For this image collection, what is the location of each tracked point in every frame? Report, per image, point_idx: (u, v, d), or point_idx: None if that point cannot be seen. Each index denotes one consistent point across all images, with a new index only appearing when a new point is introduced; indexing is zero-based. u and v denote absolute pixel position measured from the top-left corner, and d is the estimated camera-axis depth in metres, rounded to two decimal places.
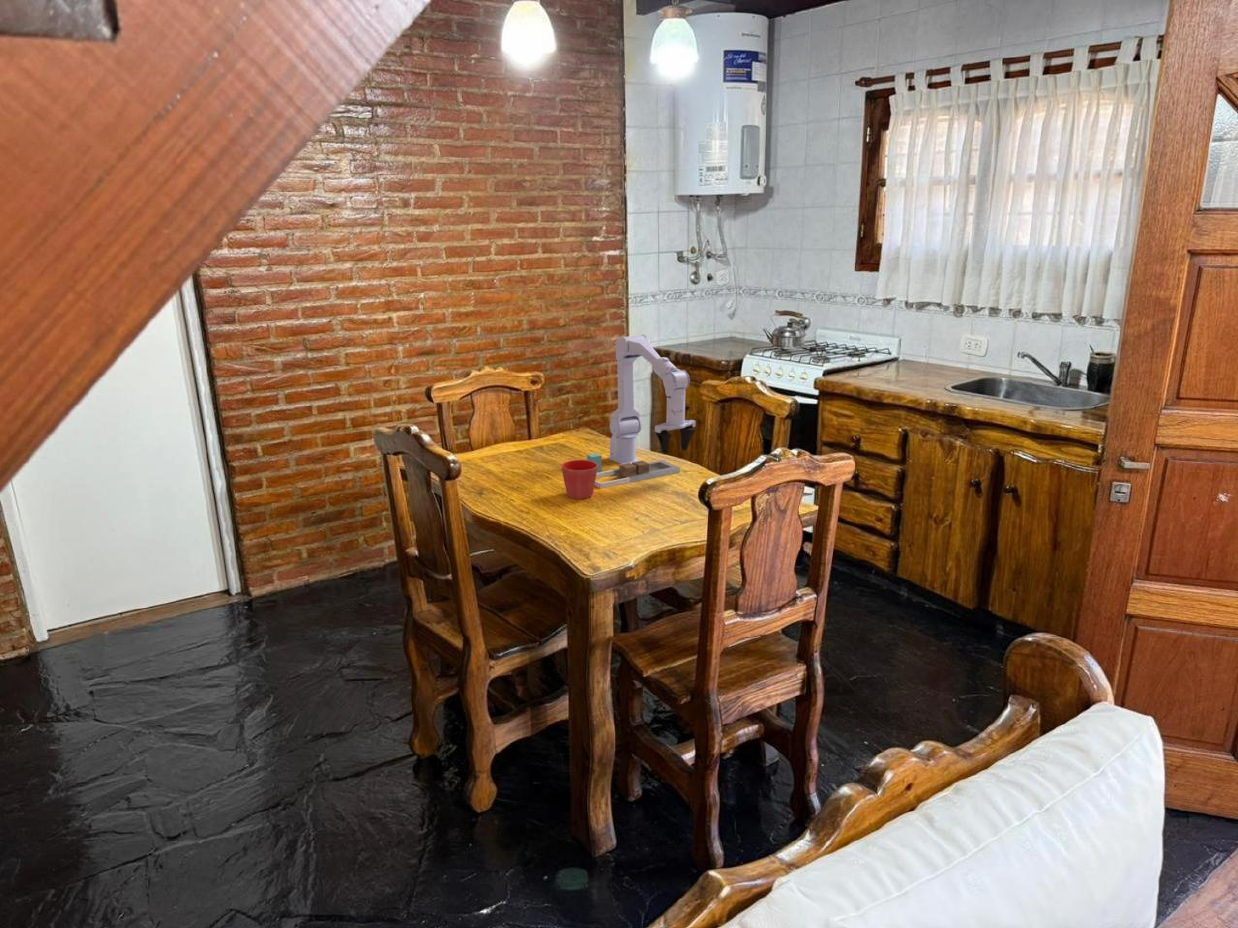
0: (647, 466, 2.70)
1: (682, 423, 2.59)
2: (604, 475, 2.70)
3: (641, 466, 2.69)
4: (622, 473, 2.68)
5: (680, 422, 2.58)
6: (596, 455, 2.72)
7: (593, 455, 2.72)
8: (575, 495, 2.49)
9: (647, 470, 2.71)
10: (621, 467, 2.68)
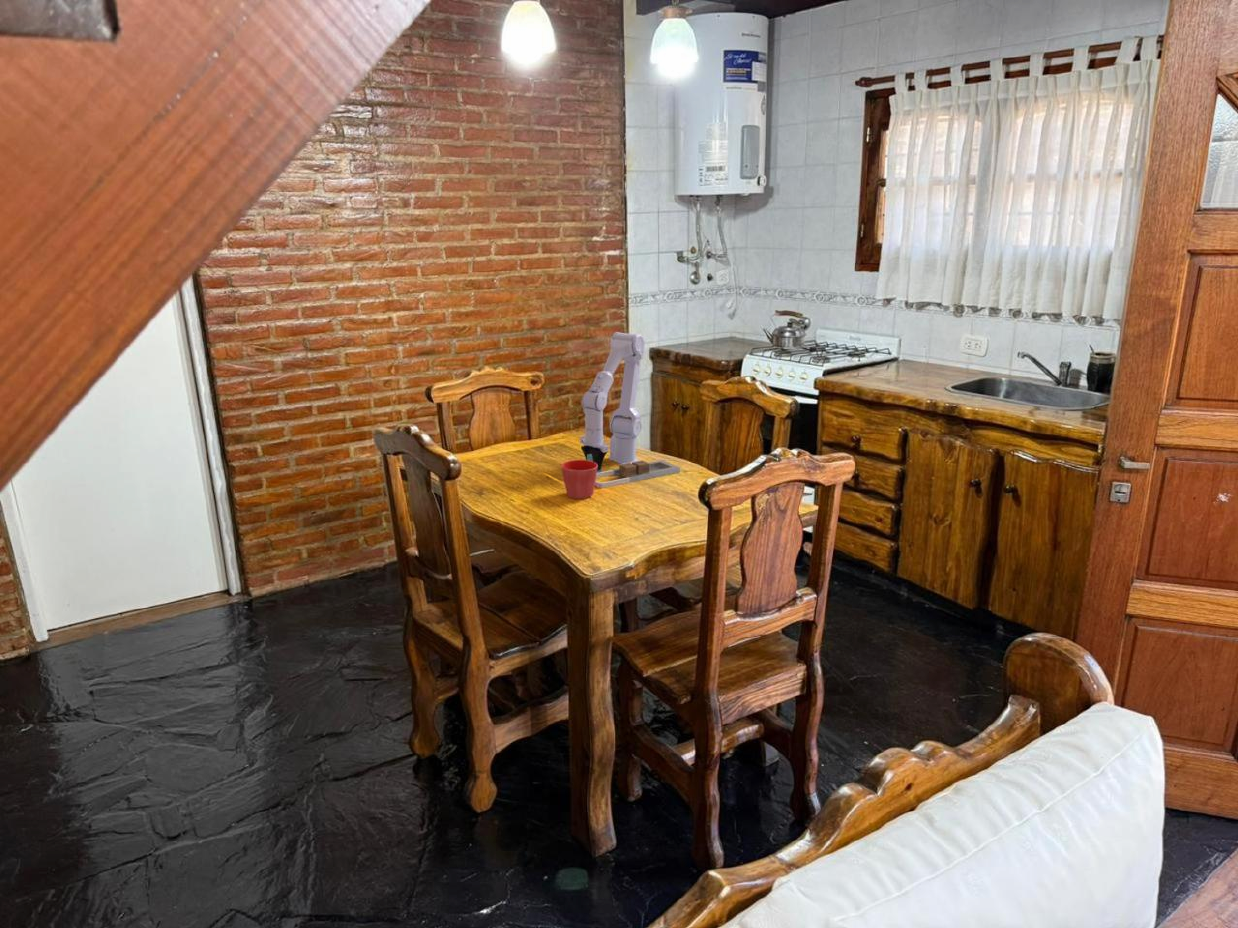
0: (647, 466, 2.70)
1: (588, 441, 2.69)
2: (604, 475, 2.70)
3: (641, 466, 2.69)
4: (622, 473, 2.68)
5: (586, 439, 2.69)
6: None
7: None
8: (575, 495, 2.49)
9: (647, 470, 2.71)
10: (621, 467, 2.68)
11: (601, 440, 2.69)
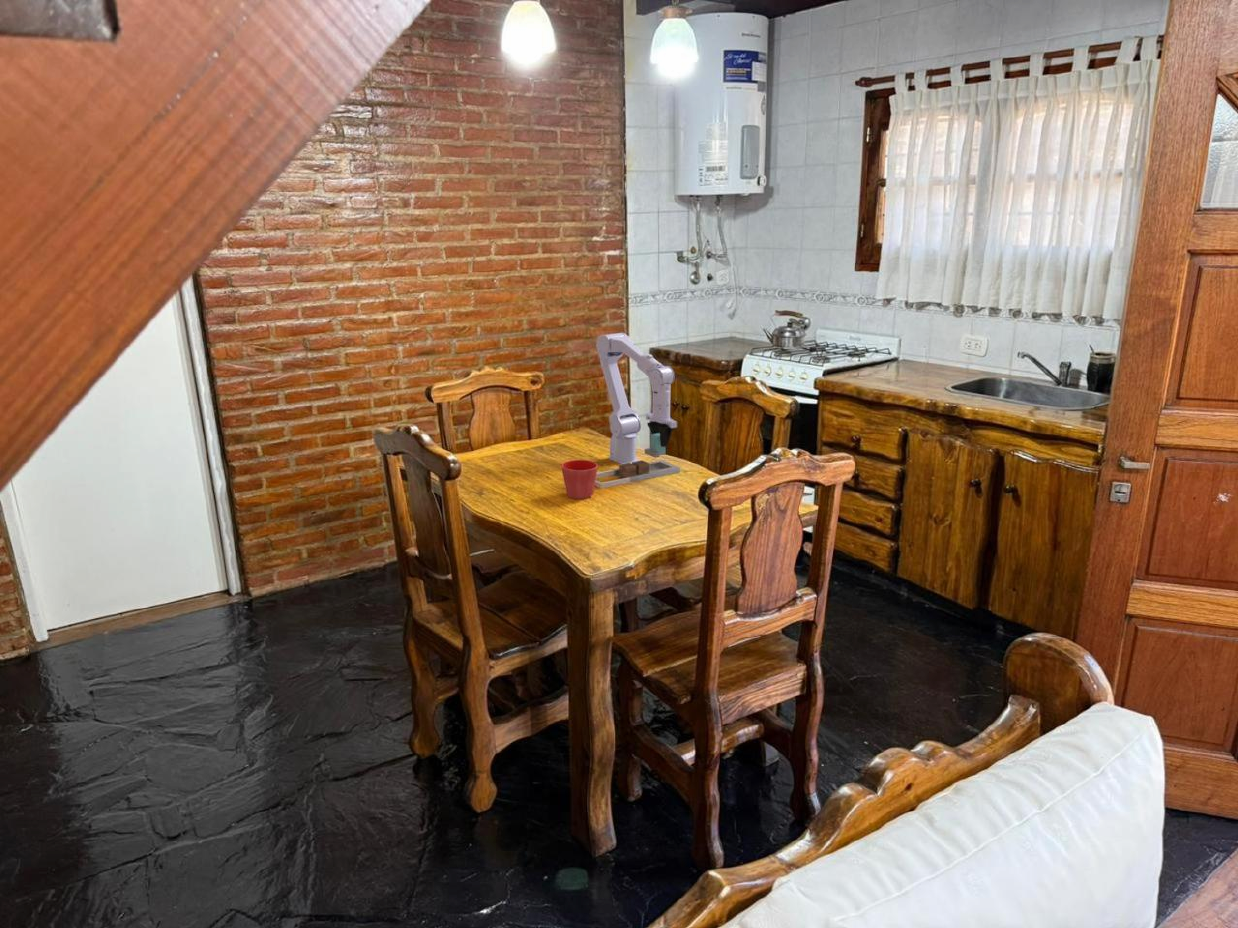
0: (647, 466, 2.70)
1: (655, 417, 2.69)
2: (604, 475, 2.70)
3: (641, 466, 2.69)
4: (622, 473, 2.68)
5: (653, 415, 2.69)
6: None
7: (658, 435, 2.71)
8: (575, 495, 2.49)
9: (647, 470, 2.71)
10: (621, 467, 2.68)
11: (668, 416, 2.69)
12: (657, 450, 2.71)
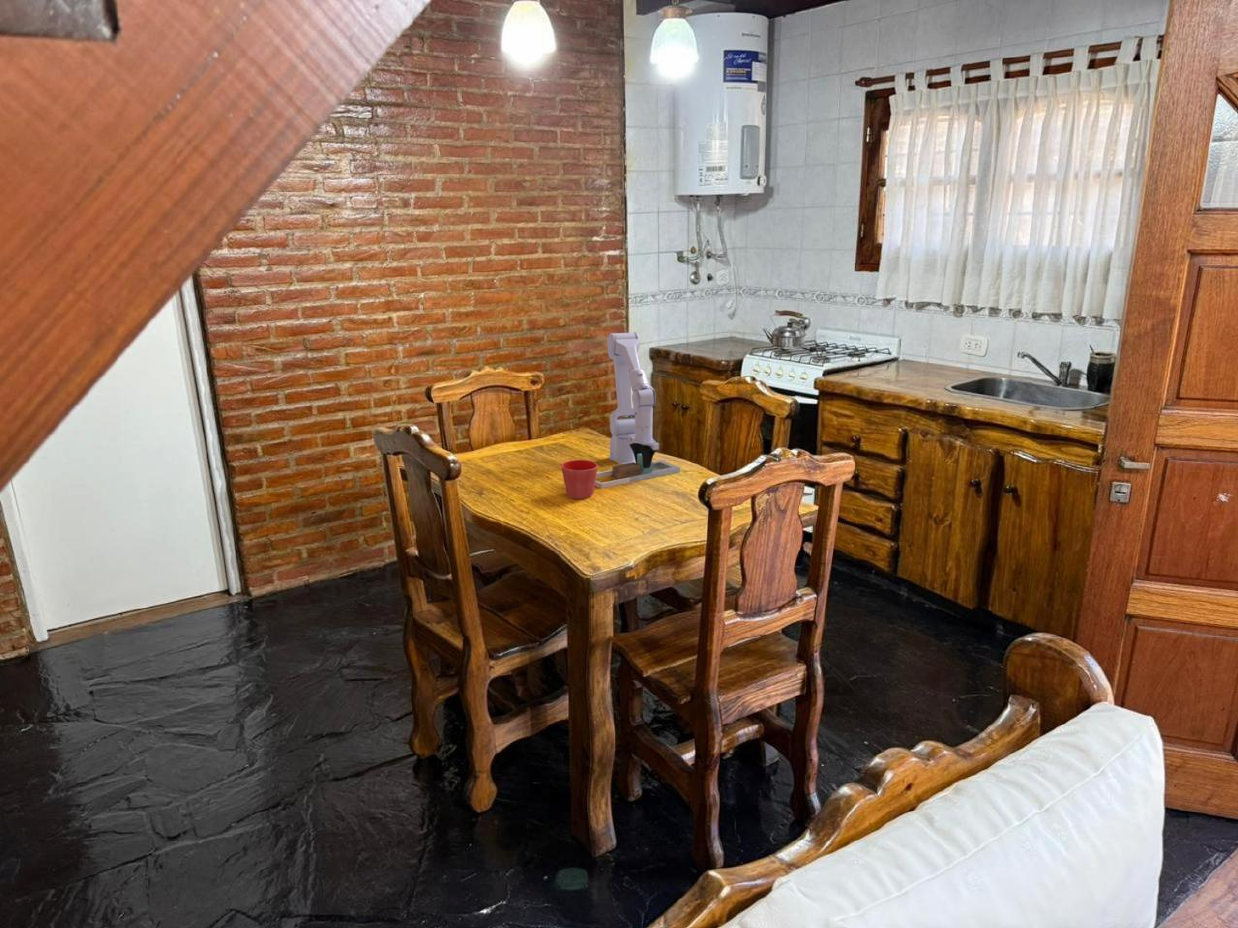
0: (638, 468, 2.68)
1: (637, 439, 2.67)
2: (604, 475, 2.70)
3: (632, 468, 2.67)
4: (615, 474, 2.66)
5: (636, 437, 2.68)
6: None
7: None
8: (575, 495, 2.49)
9: (638, 472, 2.69)
10: (614, 468, 2.66)
11: (651, 437, 2.68)
12: (643, 470, 2.70)
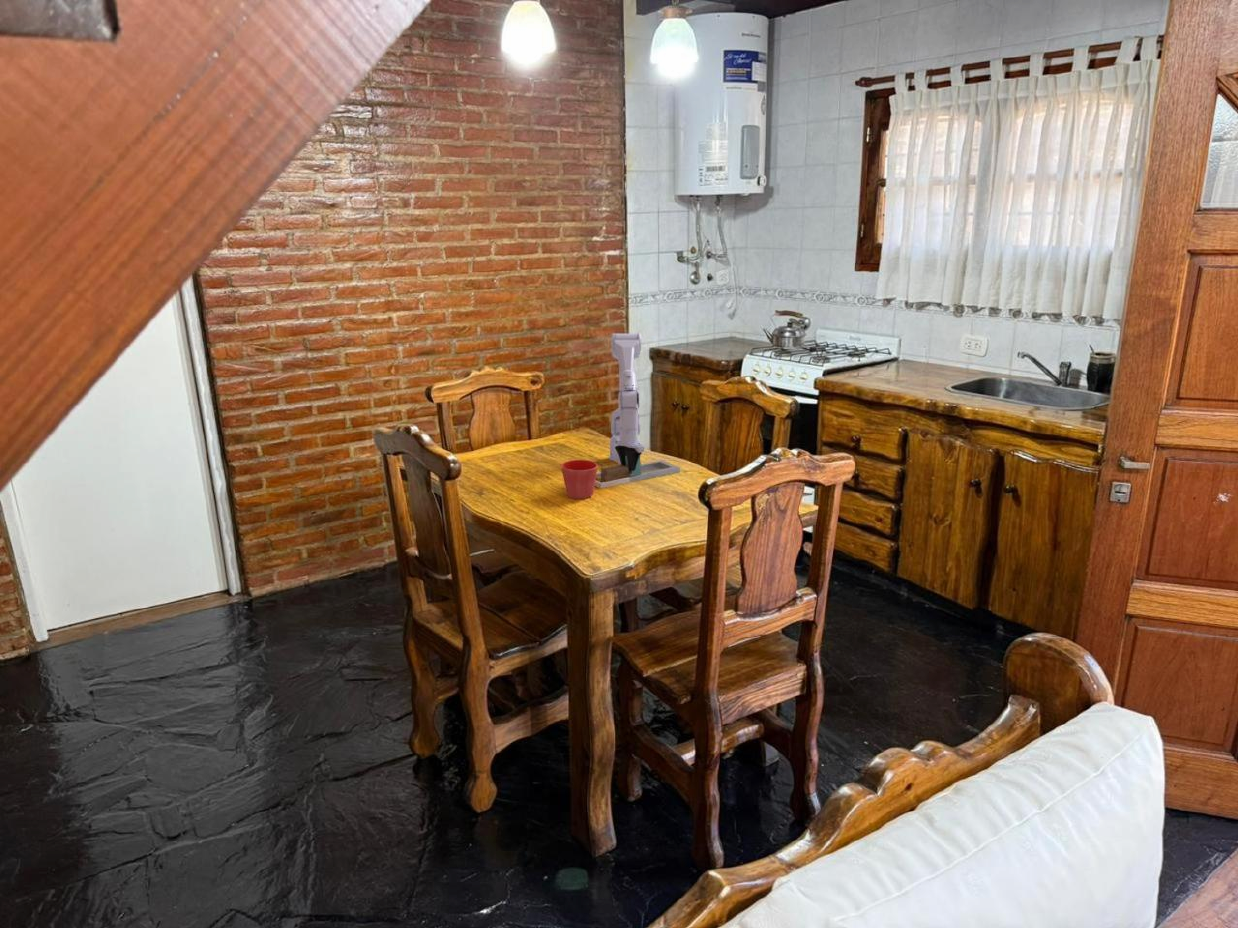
0: (627, 470, 2.66)
1: (622, 441, 2.64)
2: None
3: (620, 470, 2.65)
4: (604, 477, 2.64)
5: (621, 439, 2.65)
6: None
7: None
8: (575, 495, 2.49)
9: (627, 474, 2.66)
10: (603, 471, 2.64)
11: (636, 440, 2.65)
12: (632, 472, 2.68)
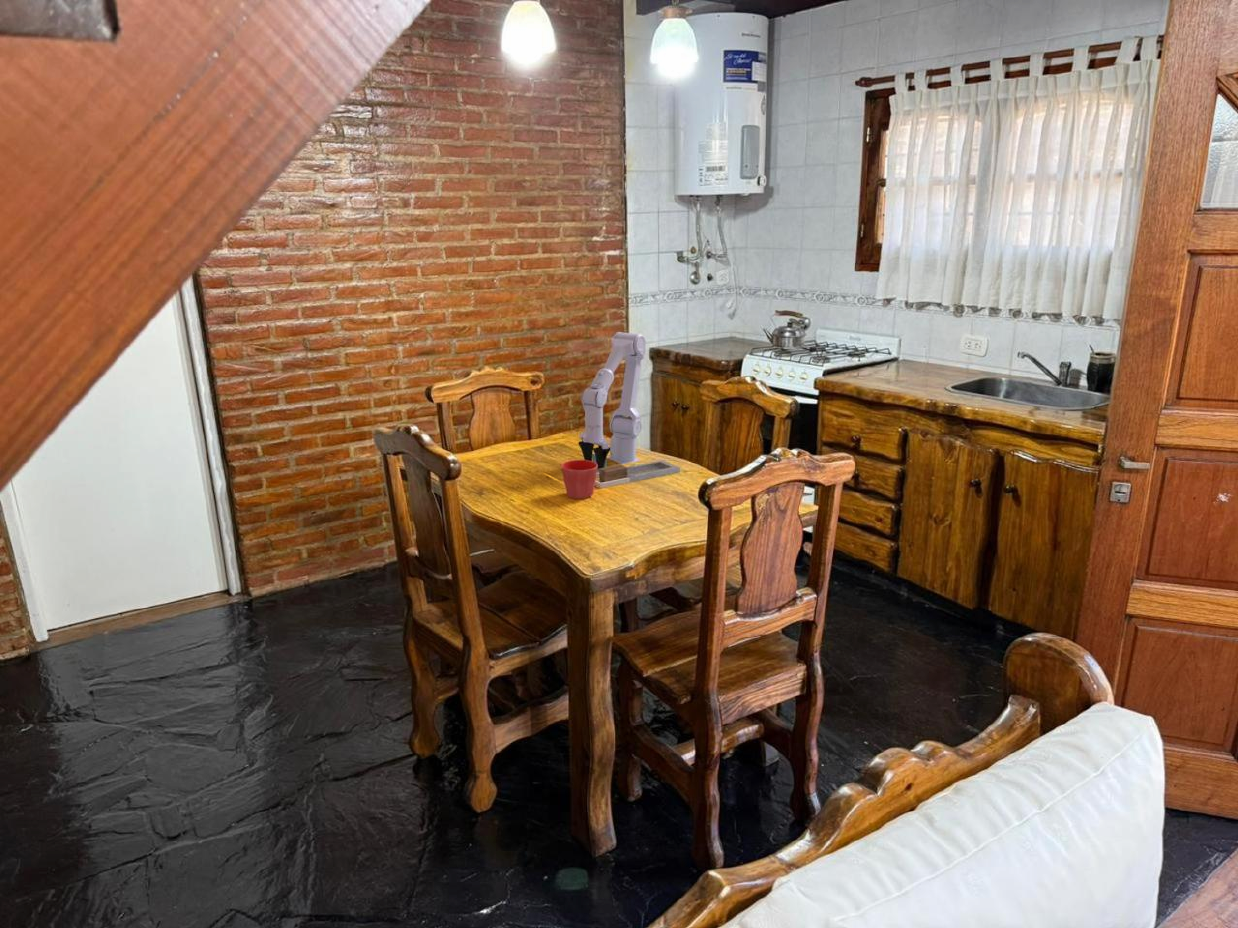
0: (625, 471, 2.66)
1: (588, 438, 2.69)
2: None
3: (619, 470, 2.64)
4: (602, 477, 2.64)
5: (586, 436, 2.69)
6: None
7: None
8: (575, 495, 2.49)
9: (625, 474, 2.66)
10: (601, 471, 2.64)
11: (601, 437, 2.69)
12: (598, 469, 2.72)
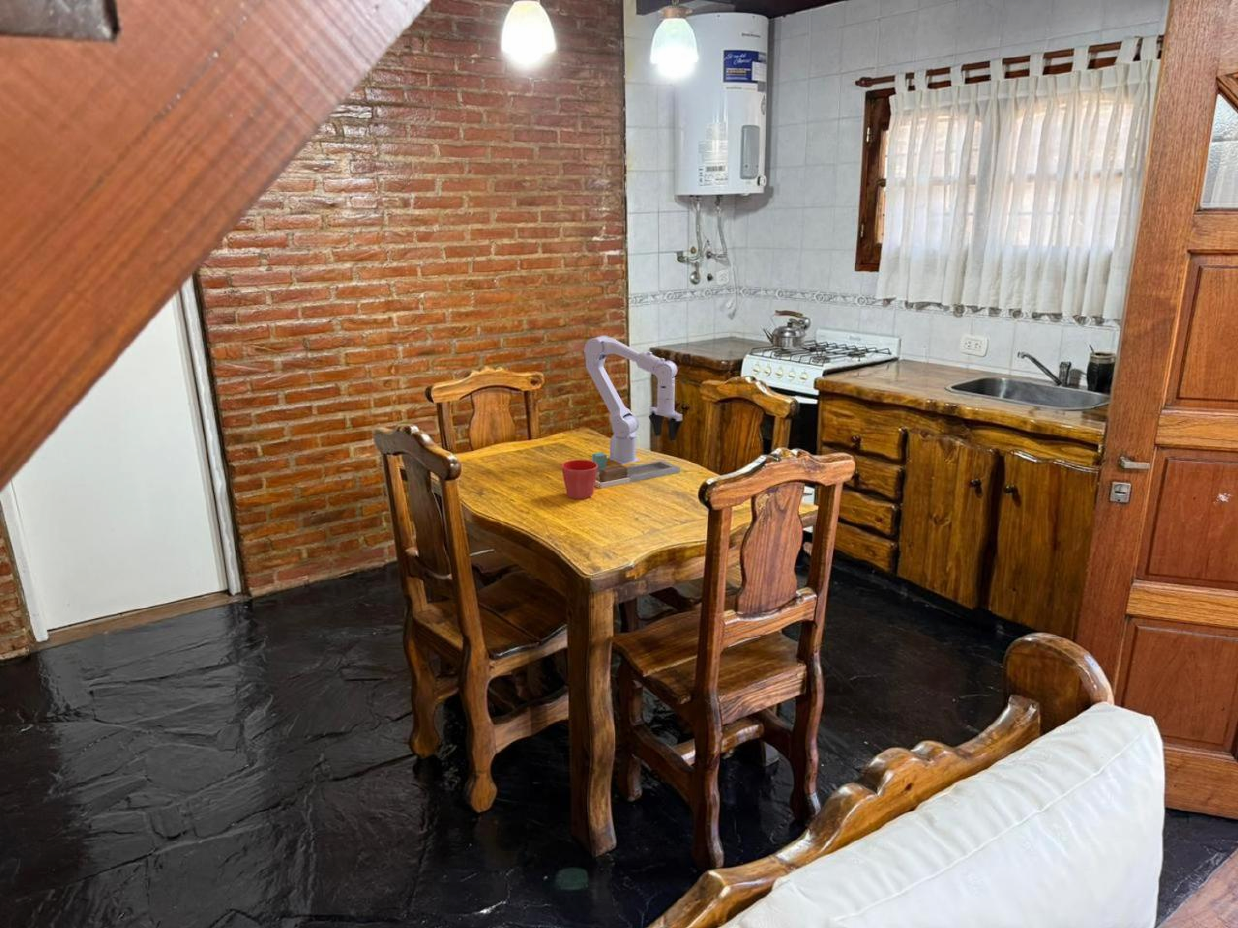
0: (625, 471, 2.66)
1: (660, 411, 2.76)
2: None
3: (619, 470, 2.64)
4: (602, 477, 2.64)
5: (658, 409, 2.76)
6: (601, 454, 2.73)
7: (599, 454, 2.73)
8: (575, 495, 2.49)
9: (625, 474, 2.66)
10: (601, 471, 2.64)
11: (673, 409, 2.76)
12: (598, 469, 2.72)
